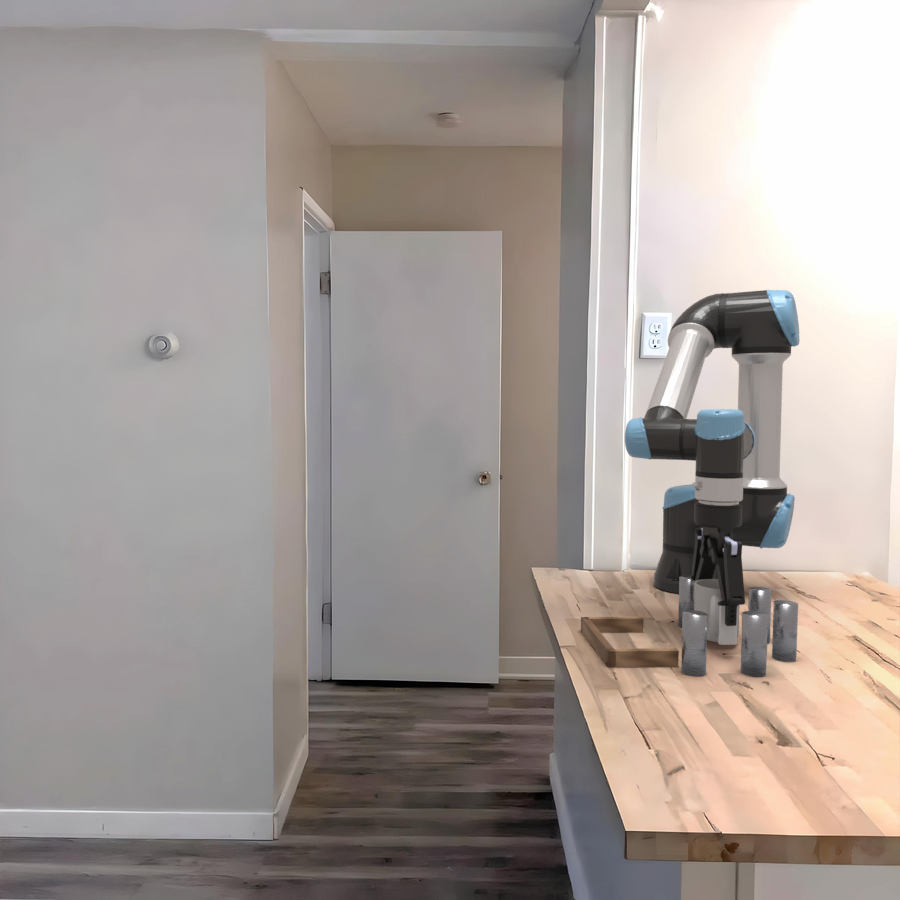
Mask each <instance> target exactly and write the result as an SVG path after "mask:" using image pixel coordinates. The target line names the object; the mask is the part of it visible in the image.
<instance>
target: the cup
mask: <svg viewBox="0 0 900 900" xmlns="http://www.w3.org/2000/svg"><path fill="white" fill-rule="evenodd" d="M720 601H722V598H721V593H720V587H719V581H718V579H701V580H697V581H695V591H694V610H695V611H702V612H705V613H707V614H708V622H707V642H708V641H709V642H715V643H718V638H719V605H718V602H720ZM739 632H740V605H738V613H737V638H738V637H739Z"/></svg>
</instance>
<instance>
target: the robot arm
mask: <svg viewBox="0 0 900 900" xmlns="http://www.w3.org/2000/svg"><path fill="white" fill-rule="evenodd" d="M799 344H800V325H799V316H798V310H797V305H796V300H795V297H794V295H793V293H792V292H790V291H789V290H786V289H779V290H778V289H765V290H752V291H750V290H749V291H741V292H740V291H738V292H726V293H723V292H722V293H714V294H711V295H707V296H705V297H703V298H701V299H699V300H697V301H696V302H694V303H692V304H690V306H689V307H688V308H686V309H685V310H684V311H683V312H682V313H681V314H680V315H679V317H678V318H676V320H675V322H674V323H673V324H672V326H671V329H670V331H669V333H668V336H667V346H668V350H667V354H666V357H665V358H664V362H663V365H662V367H661V370H660V374H659V376H658V377H657V381H656V384H655V386H654V389H653V392H652V396H651V398H650V401H649V403H648V406H647V409H646V413H645V414H644V417H641V416H640V417H637V418H631V419H630V420H629V421H628V422H627V424H626V426H625V431H624V444H625V449H626V453H627V454H628V455H629V456H630V457H631V458H636V459H644V460H673V461H675V460H676V461H694V462H695V474H694V475H695V477H694V478H695V479H694V481H695V482H694V481H693V482H692V484H684V485H683V484H682V485H676V486H670V487H669V488H667V489H666V490H665V492H664V497H663V506H662V510H663V511H662V512H663V516H662V517H663V518H662V519H663V520H662V525H663V526H662V551H661V555H660V557H659V560H658V563H657V566H656V568H655V572H654V575H653V586H654V587H655V588H658V589H660V590H662V591H666V592H669V593H675V594H679V577H680V576H691V580H692V581H697V580H701V579H718V581H719V587H720V593H721V598H722V601H720V602H718V605H719V638H718V642H717V643H718V645H721V646H725V645H726V646H727V645H728V646H729V645H737V644H738V637H737V613H738V605H739V606H742V605H745V604H746V598H745V585H744V583H745V582H744V571H743V561H742V560H743V559H742V553H743V546H744V547H755V548H759V549H763V548H764V549H766V548H767V549H780V548H782V547H784V546H785V545H786V543H787V541H788V537H789V534H790V530H791V526H792V520H793V517H794V516H793V515H794V511H795V499H796V497H795V495H793V494H791V493H788V484H786V483H785V481H783V479H782V478H781V476H780V475H781V474H780V473H781V472H780V470H781V444H782V443H781V440H782V439H781V436H782V435H781V434H782V407H783V406H782V404H783V403H782V400H783V398H782V397H783V370H784V369H783V365H784V362H786V360H788V359H789V358H790V357H791V356H792V347H796V346H799ZM715 349H731V357H732V359H734V361H736V362H737V364H738V388H737V395H738V396H737V409H732V408H731V409H730V408H729V409H727V408H726V409H725V408H721V409H720V408H717V409H715V408H714V409H710V408H709V409H706V408H705V409H700V410H699V411H698V413H697V415H696V418H688V414H689V411H690V408H691V404H692V402H693V400H694V399H693V398H694V396H695V392H696V389H697V386H698V382H699V378H700V377H701V373H702V369H703V366H704V363H705V360H706V358H707V357H709V356H710V355H711V353H713V351H714V350H715ZM694 584H695V582H694Z"/></svg>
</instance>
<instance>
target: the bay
mask: <svg viewBox="0 0 900 900" xmlns="http://www.w3.org/2000/svg"><path fill="white" fill-rule="evenodd" d="M644 620H645V619H644V617H643V616H581V617H580V632H582V634H583V635H584V637H585V638H586V640H587V639H588V640H587V641H588V643H591V644H590V645H591V646H592V648H593V647H594V648H593V649H594V650H595V652H596V651H597V652H596V653H597V655H598V656H599V657H600V658H601V660H602V661H603V663H604V664H605V666H606V667H607V668H665V667H666V668H668V667H669V668H672V667H673V668H674V667H677V668H678V667H679V661H680V659H679V656H680V655H679V654H680V652H679V651H680V650H679V649H677V648H676V647H675V648H671V647H670V648H669V647H668V648H667V647H666V648H659V647H658V648H614V647H613V646H612V644H611V643H610V642H609V640H608V639H607V638H606V637H605V636H604V635H603V634H602V633H644V625H645V624H644V623H645V621H644Z"/></svg>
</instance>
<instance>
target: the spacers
mask: <svg viewBox="0 0 900 900" xmlns="http://www.w3.org/2000/svg"><path fill="white" fill-rule="evenodd" d="M694 582H695V581H692V580H691V576H680V577H679V593H678V617H677V618H678V621H677V622H678V625H677V626H678V627H680V628H681V660H680V661H681V662H680V663H681V667H680V671H681V673H682V674H684V675H687V676H690V677H691V676H692V677H704V676H706V674H707V659H708V658H707V656H708V655H707V653H708V651H707V650H708V640H707V622H708V614H707V613H705V612H702V611H695V610H694V591H695V584H694ZM772 591H773V590H772V589H770V588H768V587H762V586H751V587H749V588H748V609H747V610H745V611H743V612H741V638H740V639H741V642H740V643H741V644H740V646H741V647H740V673H741V674H743V675H744V676H748V677H755V678H762V677H763V678H764V677H765V676H766V675H767V660H768V659H767V658H768V655H767V654H768V644H770V643H772V644H771V645H772V646H771V657H772V659H774V660H775V661H779V662H784V663H786V662H787V663H793V662H797V652H798V651H797V649H798V647H797V646H798V625H799V624H798V621H799V603H798V602H796V601H793V600H787V599H777V600H774V601H773V611H772ZM772 613H773V614H772ZM772 615H773V616H772ZM771 617H773V618H771ZM771 619H772V620H771ZM771 622H772V626H771ZM771 627H772V642H771Z"/></svg>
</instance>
